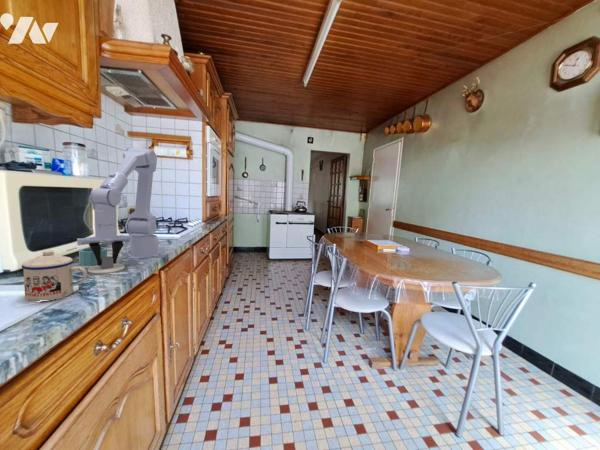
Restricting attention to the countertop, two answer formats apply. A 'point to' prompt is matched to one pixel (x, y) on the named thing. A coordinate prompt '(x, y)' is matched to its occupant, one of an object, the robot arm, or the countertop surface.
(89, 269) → the lid
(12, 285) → the countertop surface
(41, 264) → the teacup with lid
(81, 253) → the bowl
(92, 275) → the mat
